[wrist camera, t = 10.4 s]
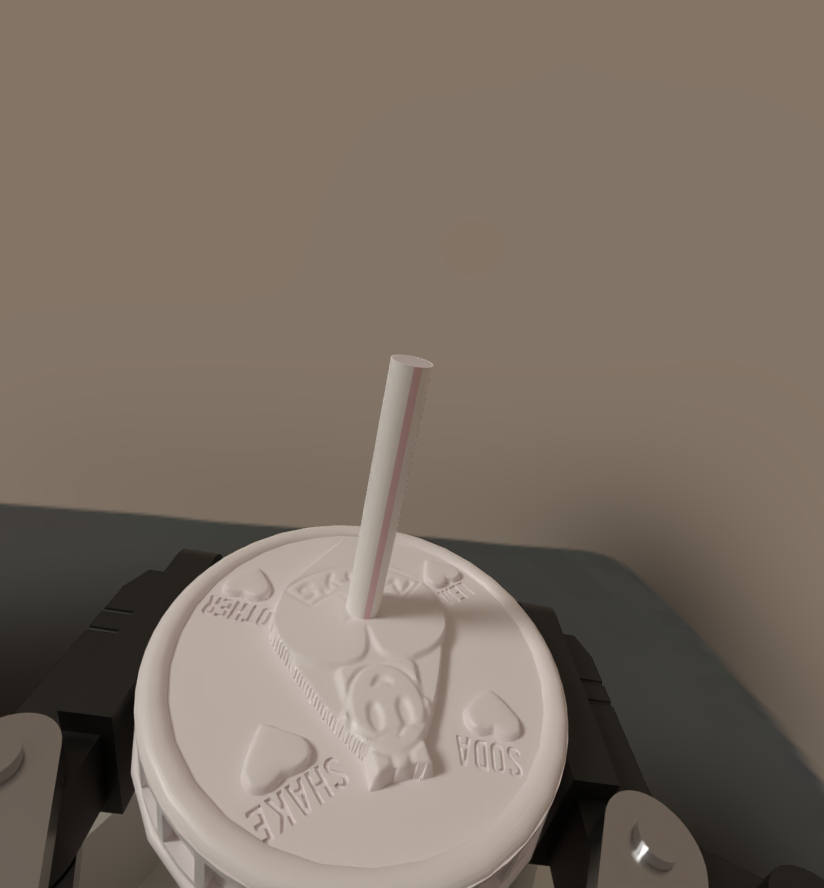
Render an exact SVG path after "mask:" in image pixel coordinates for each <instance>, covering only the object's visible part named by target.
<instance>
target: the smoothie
mask: <svg viewBox="0 0 824 888" xmlns="http://www.w3.org/2000/svg"><path fill="white" fill-rule="evenodd" d="M432 368H433V364H432V363H431V362H429V361H427V360H424V359H421V358H418V357H414V356H408V355H393V356H391V360H390V366H389V371H388V376H387V382H386V388H385V394H384V399H383V404H382V410H381V416H380V421H379V426H378V432H377V438H376V444H375V449H374V454H373V460H372V465H371V471H370V476H369V482H368V488H367V493H366V499H365V505H364V510H363V515H362V521H361V526H341V525H340V526H339V525H336V526H322V527H310V528H305V529H300V530H295V531H290V532H285V533H280V534H277V535H274V536H272V537H269V538H266V539H263V540H260V541H257V542H254V543H252V544H250V545H248V546H246V547H244V548H241V549H239V550H237V551H235V552H234V553H232V554H230V555H228V556H226V557H224V558H223V559H221V560H220V561H218V562H217V563H215V564H214V565H212V566H211V567H210V568H208V569H207V570H206V571H204V572H203V573H202V574H201V575H199V576H198V577H197V578H196V579H195V580H194V581H193V582H192V583H191V584H189V585H188V586H187V587H186V588H185V589H184V590H183V591H182V593H181V594H180V595H179V596H178V597H177V598H176V599H175V600H174V602H173V603H172V604H171V606H170V607H169V608H168V610H167V611H166V612H165V614H164V615H163V617H162V618H161V620H160V622H159V623H158V625H157V627H156V629H155V630H154V632H153V634H152V636H151V639H150V641H149V643H148V645H147V648H146V650H145V653H144V656H143V659H142V662H141V665H140V669H139V673H138V678H137V684H136V689H135V703H134V721H135V725H134V738H133V750H132V763H131V776H132V780H133V784H134V788H135V792H136V796H137V800H138V804H139V808H140V812H141V816H142V820H143V824H144V828H145V832H146V836H147V840H148V842H149V843H150V845H151V846H152V848H153V849H154V851H155V852H156V854H157V855H158V856H159V858H160V859H161V861H162V862H163V864H164V865H165V867H166V868H167V870H168V871H169V873H170V874H171V875H172V877H173V878H174V880H175V881H176V883H177V884H178V886H179V887H180V888H509V886H510V885H511V884H512V883H513V881H514V880H515V879H516V878H517V876H518V875H519V874H520V873H521V872H522V870H523V869H524V868H525V867H526V865H527V864H528V863H529V862H530V860H531V858H532V855H533V853H534V850H535V847H536V844H537V842H538V839H539V836H540V833H541V831H542V828H543V825H544V822H545V820H546V817H547V814H548V812H549V809H550V806H551V805H552V803H553V800H554V797H555V795H556V792H557V790H558V787H559V785H560V782H561V778H562V774H563V770H564V766H565V762H566V754H567V746H568V715H567V705H566V699H565V694H564V690H563V685H562V682H561V679H560V675H559V672H558V669H557V667H556V664H555V662H554V659H553V657H552V654H551V652H550V650H549V648H548V646H547V644H546V642H545V641H544V639H543V637H542V635H541V634H540V632H539V631H538V629H537V627H536V626H535V624H534V623H533V622H532V620H531V619H530V618H529V616H528V615H527V614H526V612H525V611H524V610H523V609H522V608H521V606H520V605H519V604H518V603H517V601H516V600H515V599H514V598H513V597H512V596H511V595H510V594H509V593H508V592H506V591H505V590H504V589H503V588H502V587H501V586H500V585H499V584H498V583H497V582H496V581H495V580H494V579H492V578H491V577H490V576H488V575H487V574H486V573H484V572H483V571H481V570H480V569H479V568H477V567H476V566H474V565H473V564H472V563H470V562H469V561H467V560H465V559H463V558H461V557H460V556H458V555H456V554H454V553H452V552H450V551H449V550H447V549H445V548H443V547H440V546H438V545H435V544H433V543H430V542H428V541H425V540H423V539H420V538H417V537H413V536H410V535H406V534H403V533H399V532H397V527H398V523H399V518H400V514H401V509H402V505H403V500H404V496H405V491H406V486H407V482H408V477H409V473H410V468H411V463H412V458H413V454H414V450H415V445H416V441H417V436H418V431H419V427H420V422H421V418H422V413H423V409H424V404H425V400H426V395H427V391H428V386H429V382H430V377H431V372H432Z"/></svg>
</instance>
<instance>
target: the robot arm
mask: <svg viewBox="0 0 824 888" xmlns="http://www.w3.org/2000/svg"><path fill="white" fill-rule="evenodd" d="M221 559H222V556H221V555H220V554H216V553H209V552H203V551H196V550H190V549H183V550H181V551H180V552H179V553H178V554H177V556H176V557H175V558H174V560H173V561H172V562H171V563H170V565H169V566H168V567H167V569H166V570H165V571H164V572H160V571H154V570H148V571H147V572H145V573H143V574H142V575H140V576H139V577H137V578H135V579H134V580H132V581H131V582H129V583H127V584H126V585H124V586H123V587H122V588H121V589H120V591H119V592H118V593H117V594H116V595H115V596H114V598H113V599H112V600H111V601H110V602H109V603H108V605H107V606H106V607H105V610H104V612H101V613H100V614H99V615H98V616H97V617H96V619H95V620H94V621H93V622H92V623H91V624H90V627H89V629H88V630H85V631H84V633H83V634H82V635H81V636H80V637H79V638H78V640H77V641H76V642H75V643H74V644H73V645H72V647H71V648H70V649H69V650H68V651H67V652H66V654H65V655H64V656H63V657H62V658H61V659H60V661H59V662H58V663H57V664H56V665H55V666H54V668H53V669H52V670H51V671H50V672H49V673H48V675H47V676H46V677H45V678H44V679H43V680H42V682H41V683H40V684H39V685H38V686H37V687H36V689H35V690H34V691H33V692H32V693H31V694H30V695H29V697H28V698H27V699H26V700H25V701H24V702H23V704H22V705H21V706H20V707H19V708H18V709H17V710H16V711H15V712H14V713H13V714H12V715H7V716H4V717H1V718H0V888H79V878H80V869H81V859H82V844H83V842H84V840H85V838H86V836H87V835H88V833H89V831H90V829H91V827H92V826H93V824H94V822H95V820H96V818H97V817H98V815H99V813H100V812H106V813H114V814H123V813H124V811H125V809H126V807H127V805H128V804H129V802H130V800H131V798H132V796H133V794H134V792H135V788H134V784H133V780H132V776H131V763H132V750H133V738H134V725H135V721H134V703H135V689H136V684H137V678H138V673H139V669H140V665H141V662H142V659H143V656H144V653H145V650H146V648H147V645H148V643H149V641H150V639H151V636H152V634H153V632H154V630H155V629H156V627H157V625H158V623H159V622H160V620H161V618H162V617H163V615H164V614H165V612H166V611H167V610H168V608H169V607H170V606H171V604H172V603H173V602H174V600H175V599H176V598H177V597H178V596H179V595H180V594H181V593H182V591H183V590H184V589H185V588H186V587H187V586H188V585H189V584H191V583H192V582H193V581H194V580H195V579H196V578H197V577H198V576H199V575H201V574H202V573H203V572H204V571H206V570H207V569H208V568H210V567H211V566H212V565H214V564H215V563H217V562H218V561H220V560H221ZM517 603H518V604H519V605H520V606H521V608H522V609H523V610H524V611H525V612H526V614H527V615H528V616H529V618H530V619H531V620H532V622H533V623H534V624H535V626H536V627H537V629H538V631H539V632H540V634H541V635H542V637H543V639H544V641H545V642H546V644H547V646H548V648H549V650H550V652H551V654H552V657H553V659H554V662H555V664H556V667H557V669H558V672H559V675H560V679H561V682H562V685H563V690H564V694H565V699H566V705H567V715H568V746H567V754H566V762H565V766H564V770H563V774H562V778H561V782H560V785H559V787H558V790H557V792H556V795H555V797H554V800H553V803H552V805H551V806H550V809H549V812H548V814H547V817H546V820H545V822H544V825H543V828H542V831H541V833H540V836H539V839H538V842H537V844H536V847H535V850H534V853H533V855H532V858H531V860H530V862H529V863H528V864H534V865H543V866H550V870H551V875H552V880H553V884H554V888H824V880H823V879H822V878H820V877H818V876H817V875H815V874H813V873H812V872H810V871H807V870H805V869H803V868H800V867H797V866H793V865H781V866H778V867H777V868H775V869H774V870H773V871H772V872H771V873H770V874H769V875H768V876H767V877H766V878H765V879H762V878H760V877H758V876H756V875H754V874H752V873H750V872H748V871H746V870H744V869H742V868H740V867H738V866H735V865H733V864H731V863H729V862H727V861H725V860H723V859H721V858H719V857H717V856H715V855H713V854H711V853H709V852H707V851H705V850H704V849H702V848H700V847H699V846H698V845H697V843H696V842H695V840H694V838H693V836H692V835H691V833H690V832H689V831H688V829H687V828H686V826H685V825H684V824H683V823H682V822H681V820H680V819H679V818H678V817H677V816H676V815H675V814H674V813H673V812H672V811H671V810H670V809H668V808H667V807H666V806H665V805H664V804H662V803H661V802H659V801H658V800H656V799H655V798H653V797H652V796H651V794H650V792H649V790H648V788H647V785H646V783H645V781H644V778H643V776H642V774H641V771H640V769H639V767H638V764H637V762H636V760H635V757H634V755H633V753H632V750H631V748H630V746H629V743H628V741H627V739H626V736H625V734H624V731H623V729H622V727H621V724H620V722H619V720H618V717H617V715H616V713H615V710H614V708H613V707H611V705H610V703H611V701H610V699H609V696H608V694H607V692H606V689H605V687H604V686H602V680H601V678H600V675H599V673H598V671H597V668H596V666H595V664H594V661H593V659H592V657H591V656H590V655H589V653H588V652H587V651H586V650H585V649H584V647H583V646H582V645H581V644H580V642H579V641H578V640H577V639H576V638H575V636H571V635H565V634H563V632H562V630H561V627H560V624H559V622H558V619H557V617H556V614H555V612H554V610H553V609H552V608H551V607H547V606H540V605H534V604H528V603H521V602H517Z"/></svg>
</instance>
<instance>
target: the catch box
mask: <svg viewBox="0 0 824 888" xmlns="http://www.w3.org/2000/svg"><path fill="white" fill-rule="evenodd" d="M79 888H180V887H179V886H178V884H177V883H176V881H175V880H174V878H173V877H172V875H171V874H170V873H169V871H168V870H167V868H166V867H165V865H164V864H163V862H162V861H161V859H160V858H159V856H158V855H157V854H156V852H155V851H154V849H153V848H152V846H151V845H150V843H149V842H148V840H147V836H146V832H145V828H144V824H143V820H142V816H141V812H140V808H139V804H138V800H137V796H136V792H134V794H133V796H132V798H131V800H130V802H129V804H128V805H127V807H126V809H125V811H124V813H123V814H114V813H106V812H100V813H99V815H98V817H97V818H96V820H95V822H94V824H93V826H92V827H91V829H90V831H89V833H88V835H87V836H86V838H85V840H84V842H83V844H82V859H81V869H80V878H79ZM509 888H554V884H553V880H552V875H551V870H550V866H543V865H534V864H527V865H526V867H525V868H524V869H523V870H522V872H521V873H520V874H519V875H518V876H517V878H516V879H515V880H514V881H513V883H512V884H511V885H510V886H509Z"/></svg>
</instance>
